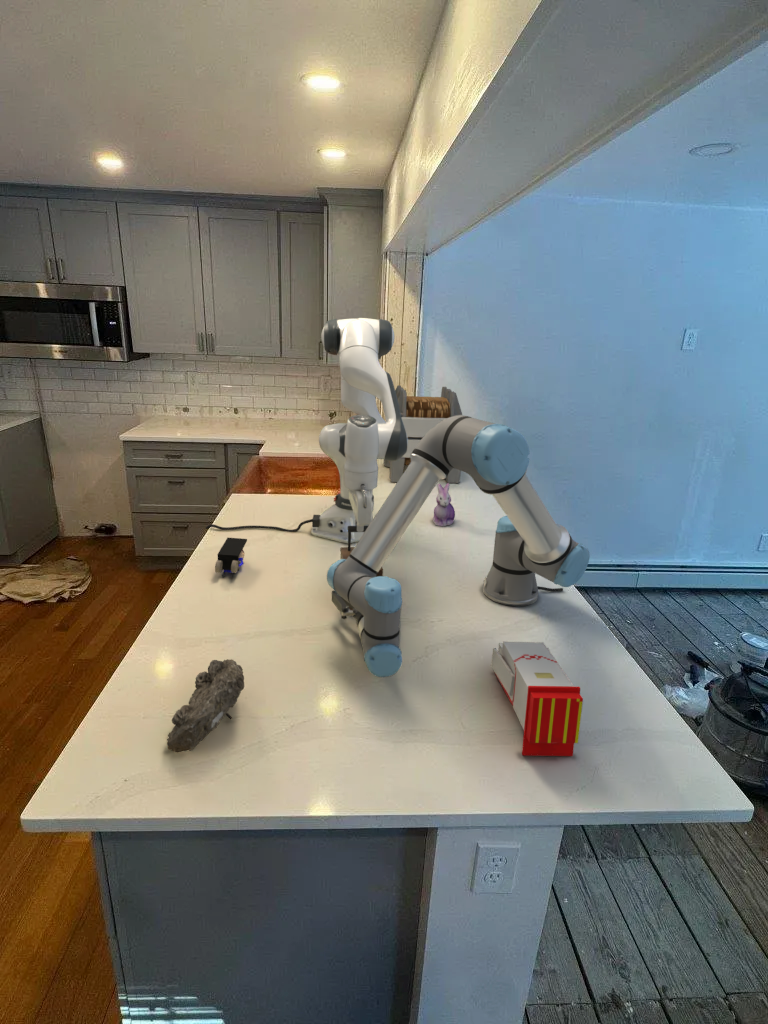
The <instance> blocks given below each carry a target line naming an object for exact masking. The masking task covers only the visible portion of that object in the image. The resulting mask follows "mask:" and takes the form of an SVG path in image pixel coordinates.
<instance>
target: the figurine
mask: <svg viewBox="0 0 768 1024" xmlns="http://www.w3.org/2000/svg"><path fill="white" fill-rule="evenodd" d="M437 493H438V494H437V496H436V498H435V501H436V503H437V504H436V506H435V507H434V508H433V518H432V523H434V525H435V526H440V527H445V526H450V525H452V524H453V523H454V521H455V517H456V511H455V508H454V506H453V504H452V503H451V502H452V498H451V494H450V483H448V482H447V483H446V484H445V485H444V487H443V485H442V484H441V483H437Z"/></svg>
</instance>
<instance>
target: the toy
mask: <svg viewBox="0 0 768 1024" xmlns="http://www.w3.org/2000/svg"><path fill="white" fill-rule="evenodd" d="M490 663H491V664H490V668H491V669H492V670H493V672H494V675H495V676H496V678H497V680H498V682H499V684H500V685H501V687H502V689H503V691H504V693H505V696H506V697H507V699H508V700H509V702H510V704H511V706H512V708H513V711H514V713H515V715H516V717H517V719H518V721H519V723H520V726H521V728H522V730H523V737H522V748H521V755H522V756H528V757H529V756H530V757H531V756H534V757H535V756H536V757H537V756H538V757H540V756H541V757H573V756H574V750H575V749H574V748H575V744H578V743H579V737H580V728H581V719H582V711H583V702H584V698H583V696H582V695H581V687H580V686H575V685H574V684H573V682H572V681H571V680H570V678H569V676H568V675H567V674H566V672H565V671H564V669H563V668H562V667H561V665H560V664H559V662H558V661H557V659H556V658H555V656H554V655H553V654H552V653H551V650H550V648H549V647H547V646H546V644H545V642H543V641H502V642H498V648H497V647H493V648H492V654H491V662H490Z"/></svg>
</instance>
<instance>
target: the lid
mask: <svg viewBox="0 0 768 1024" xmlns="http://www.w3.org/2000/svg"><path fill="white" fill-rule="evenodd" d="M368 526H369V525H364V530H363V532H365V531H366V529H367V528H368ZM351 532H358V531H357V529H356V526H348V543H347V546H343V547H342V546H340V547H339V548H340V549H339V550H340V557H341V556H342V559H346V560H347V558H348V557H349V555H350V553H351V552H352V550H353V549H354V547H355V546H352V543H351ZM378 573H383V574H384V567H383V566H382V567H381V569H380V570H379V572H378Z"/></svg>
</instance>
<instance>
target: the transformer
mask: <svg viewBox="0 0 768 1024" xmlns="http://www.w3.org/2000/svg"><path fill="white" fill-rule="evenodd" d="M395 392H396V396H397V401H398V405H399V409H400V414H401V418H402V422H403V425H404V427H405V431H406V434H407V438H408V447H407V452H406V453H405V454H404V455H403V456H402V457H401V458H400V459H398V460H397V461H390V460H384V459H383V466H384V467H388V468H389V475H388V476H389V477H388V478H389V480H390V482H391V483H397V482H398V481H399V479H400V478H401V476H402V475H403V473H404V469H405V466H406V467H408V466H409V464H410V463H411V458H410V455H411V453H412V451H413V450H414V448H415V447H416V446H417V444H418V443H419V442H420V440H421V439H422V438H423V437H424V436H425V435H426V434H427V433H428V432H429V431H430V430H431V429H432V428H433V427H434V426H436V425H437V424H438V423H440V422H441V421H443V420H445V419H447V418H449V417H453V416H459V415H463V411H462V408H461V405H460V402H459V398H458V395H457V392H455V391H453V390H452V389H451V388H447V386H442V387H441V392H440V393H441V394H440V396H415V395H414V396H413V395H412V396H411V395H407V394H408V393H407V390H406V389H404V388H403V387H402V385H399V384H398V385H397V386H396V388H395ZM461 472H462V471H461V470H458V469H455V468H454V469H452V470H451V471H450V472H449V474H448V475H447V477H446V478H445V479H444V480H445V481H446V482H447V483H449V484H455V483H456V484H459V483H461Z"/></svg>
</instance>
